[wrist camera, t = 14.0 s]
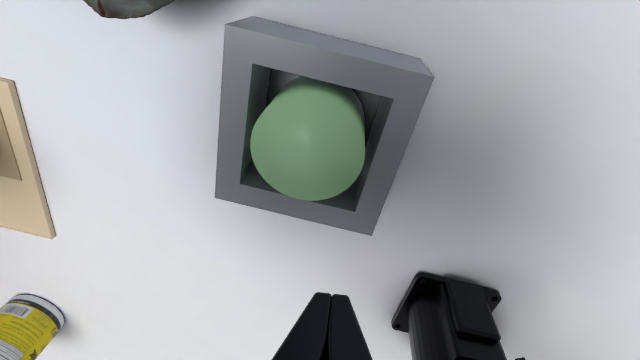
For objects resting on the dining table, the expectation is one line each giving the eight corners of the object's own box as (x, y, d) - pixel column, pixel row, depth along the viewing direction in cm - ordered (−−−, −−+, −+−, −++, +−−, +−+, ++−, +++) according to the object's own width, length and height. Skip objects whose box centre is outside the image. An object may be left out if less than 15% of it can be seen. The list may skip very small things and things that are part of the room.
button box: (370, 196, 22) (371, 235, 19) (238, 164, 22) (214, 197, 18) (420, 58, 17) (434, 77, 14) (252, 16, 17) (225, 24, 14)
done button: (350, 173, 20) (347, 211, 17) (264, 152, 20) (245, 186, 17) (376, 87, 18) (380, 112, 14) (277, 62, 17) (257, 81, 14)
